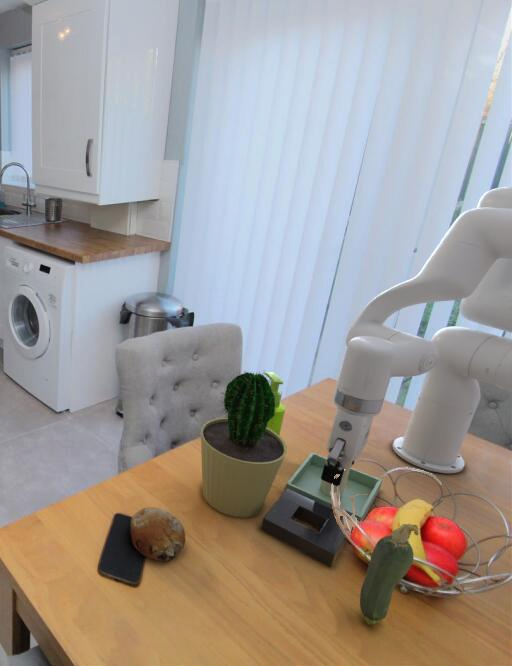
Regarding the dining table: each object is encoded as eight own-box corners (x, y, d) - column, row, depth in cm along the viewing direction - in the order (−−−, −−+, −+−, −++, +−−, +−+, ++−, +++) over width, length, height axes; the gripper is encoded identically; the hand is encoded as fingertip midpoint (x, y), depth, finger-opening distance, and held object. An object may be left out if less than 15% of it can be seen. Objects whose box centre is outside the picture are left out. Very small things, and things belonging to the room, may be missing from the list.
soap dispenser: (266, 442, 117) (282, 370, 110) (279, 460, 111) (296, 385, 104) (241, 442, 118) (255, 369, 111) (252, 459, 112) (267, 384, 104)
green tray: (308, 462, 110) (311, 451, 109) (378, 491, 101) (382, 479, 100) (283, 494, 101) (286, 483, 100) (357, 529, 92) (361, 517, 91)
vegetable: (346, 606, 77) (379, 509, 70) (371, 603, 78) (407, 506, 70) (368, 632, 73) (405, 532, 66) (395, 629, 74) (435, 529, 66)
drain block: (284, 499, 100) (287, 488, 98) (351, 531, 91) (355, 519, 90) (260, 529, 92) (263, 517, 91) (331, 567, 84) (334, 554, 83)
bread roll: (181, 549, 93) (185, 507, 93) (185, 571, 83) (189, 524, 84) (129, 537, 96) (133, 497, 96) (126, 557, 86) (131, 512, 87)
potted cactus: (277, 489, 102) (306, 363, 91) (267, 537, 91) (299, 399, 79) (201, 464, 111) (220, 346, 99) (183, 505, 99) (202, 377, 88)
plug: (323, 482, 103) (333, 445, 100) (345, 491, 101) (356, 454, 97) (317, 491, 101) (327, 453, 97) (339, 500, 98) (350, 462, 95)
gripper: (368, 425, 85) (345, 502, 91) (393, 390, 95) (371, 461, 102) (320, 408, 90) (302, 482, 96) (348, 377, 100) (330, 445, 107)
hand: (337, 471), depth 99 cm, fingers open, 8 cm apart
